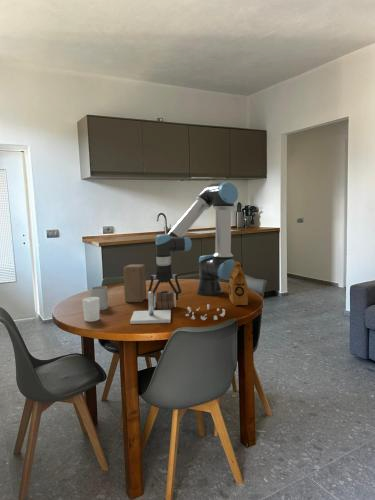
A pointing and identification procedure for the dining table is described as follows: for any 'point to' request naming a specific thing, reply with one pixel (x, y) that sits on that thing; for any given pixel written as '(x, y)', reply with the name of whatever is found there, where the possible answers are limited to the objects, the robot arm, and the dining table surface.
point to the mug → (100, 296)
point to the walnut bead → (164, 299)
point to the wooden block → (135, 283)
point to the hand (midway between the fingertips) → (165, 306)
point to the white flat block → (151, 317)
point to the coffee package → (238, 286)
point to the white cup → (91, 308)
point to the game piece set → (206, 314)
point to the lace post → (150, 303)
